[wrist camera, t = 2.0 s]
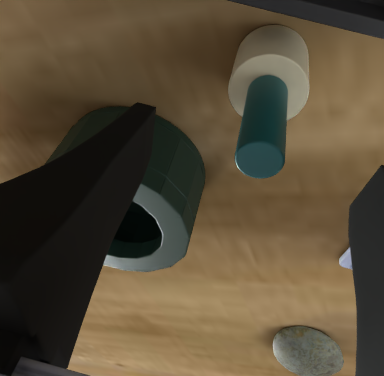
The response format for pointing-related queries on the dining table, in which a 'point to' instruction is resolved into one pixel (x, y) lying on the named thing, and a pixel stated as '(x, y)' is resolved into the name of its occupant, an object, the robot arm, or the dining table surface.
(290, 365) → the soupspoon
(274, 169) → the teal peg on base
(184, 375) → the dining table surface
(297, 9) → the tray
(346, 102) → the dining table surface
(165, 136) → the jar
